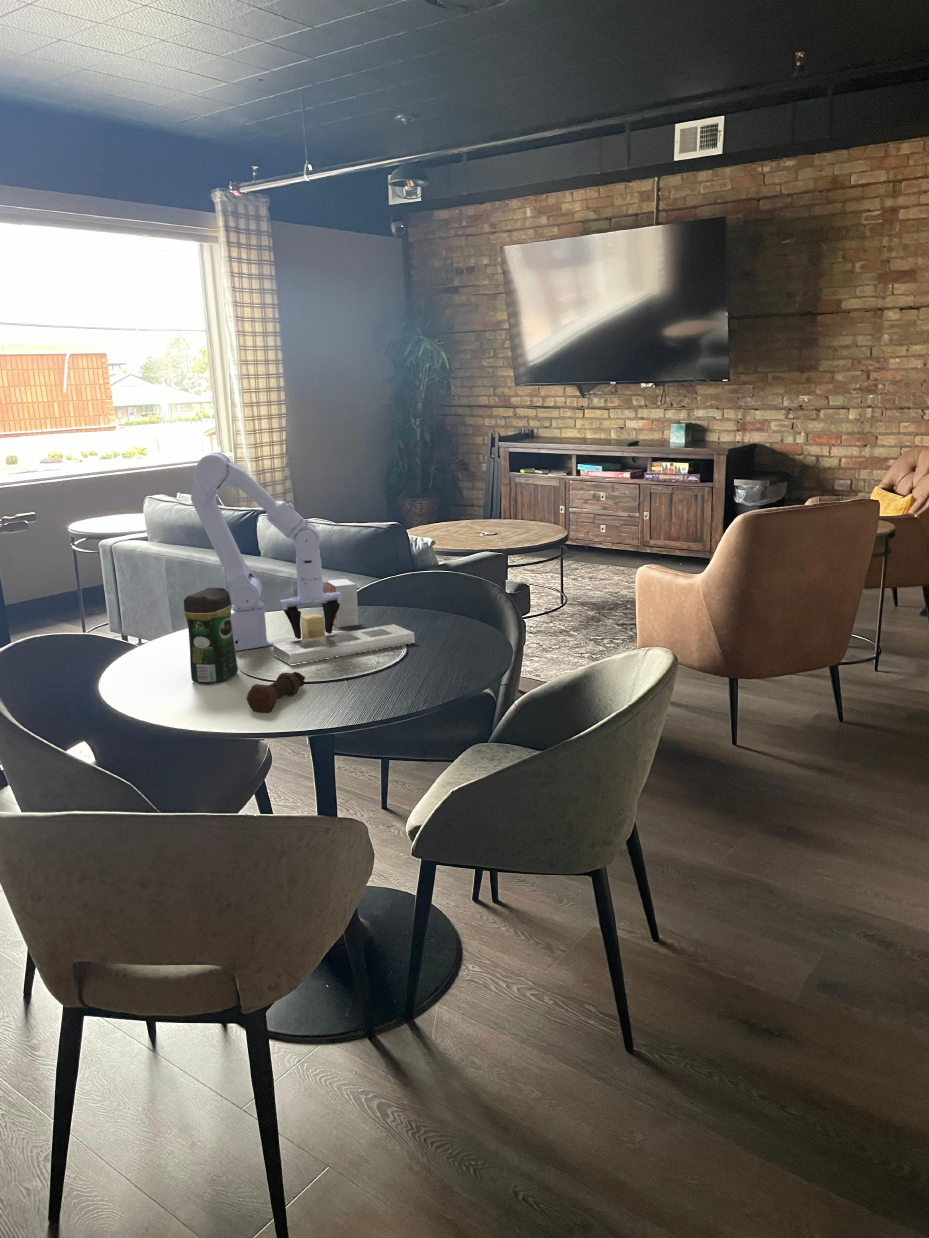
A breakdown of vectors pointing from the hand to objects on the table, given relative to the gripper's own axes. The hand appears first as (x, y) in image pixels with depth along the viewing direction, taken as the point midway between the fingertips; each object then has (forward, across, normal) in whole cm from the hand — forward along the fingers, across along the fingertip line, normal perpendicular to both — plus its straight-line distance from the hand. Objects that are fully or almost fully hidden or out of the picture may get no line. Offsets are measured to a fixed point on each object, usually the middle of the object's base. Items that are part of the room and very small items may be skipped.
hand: (313, 635), depth 213 cm
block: (+2, 0, 0) cm, 2 cm away
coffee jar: (+2, -28, -15) cm, 32 cm away
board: (+1, +3, -11) cm, 11 cm away
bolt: (+2, -22, -36) cm, 42 cm away
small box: (+2, +13, +12) cm, 18 cm away
